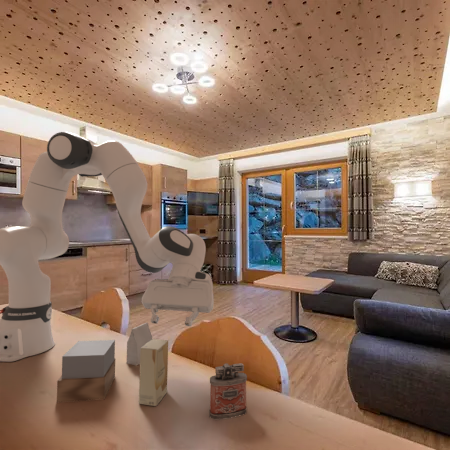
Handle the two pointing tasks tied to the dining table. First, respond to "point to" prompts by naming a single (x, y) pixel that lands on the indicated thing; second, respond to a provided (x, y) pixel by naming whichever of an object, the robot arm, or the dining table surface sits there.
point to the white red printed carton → (137, 343)
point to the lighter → (228, 392)
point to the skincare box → (153, 372)
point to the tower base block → (85, 387)
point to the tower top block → (88, 359)
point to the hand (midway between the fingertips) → (170, 323)
